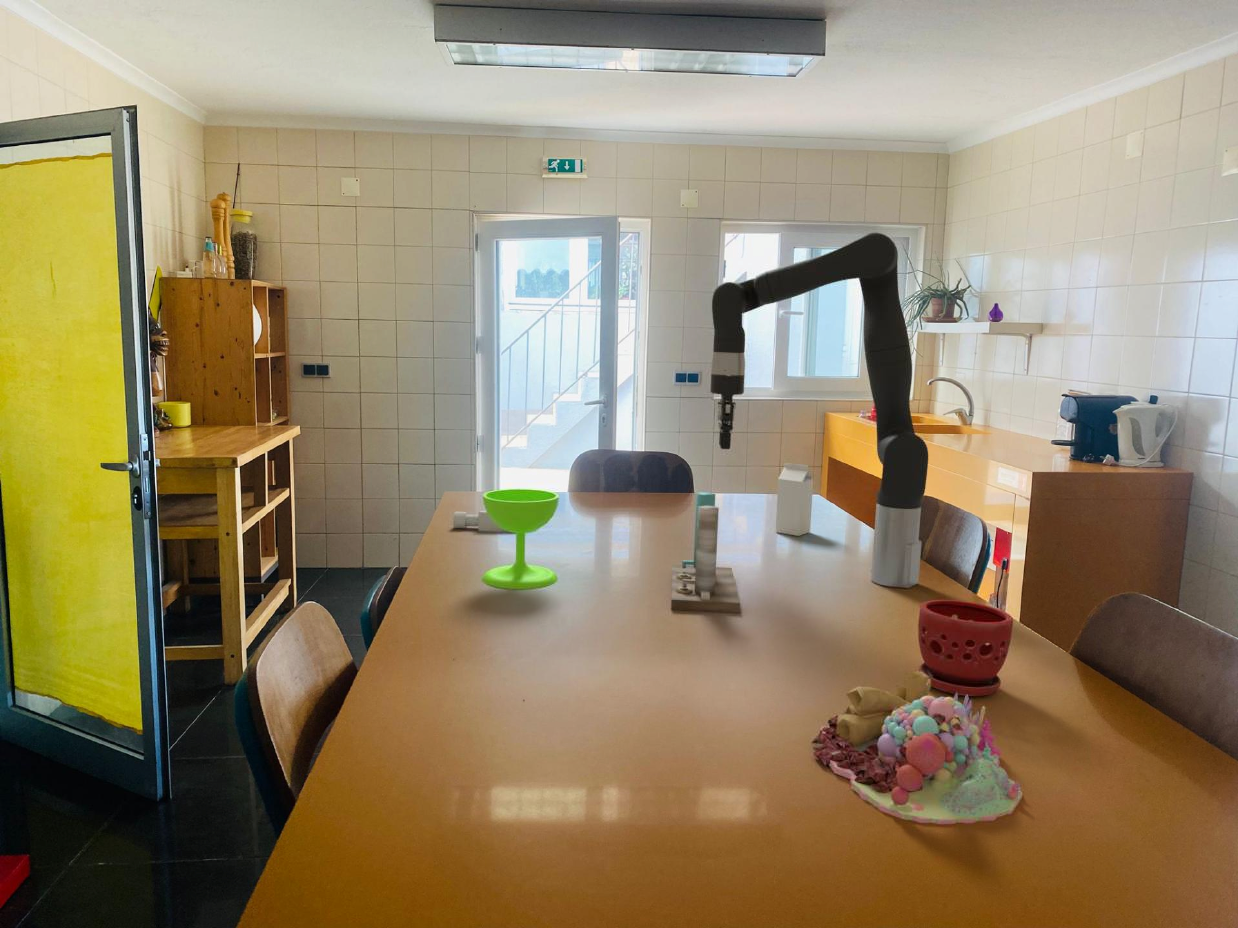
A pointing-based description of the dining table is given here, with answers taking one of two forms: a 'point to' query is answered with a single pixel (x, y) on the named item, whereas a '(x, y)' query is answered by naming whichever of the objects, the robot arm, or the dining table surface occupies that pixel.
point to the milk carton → (794, 500)
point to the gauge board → (715, 601)
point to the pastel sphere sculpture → (918, 755)
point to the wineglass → (520, 534)
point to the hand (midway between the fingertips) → (724, 447)
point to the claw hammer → (475, 521)
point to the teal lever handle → (701, 500)
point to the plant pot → (963, 645)
